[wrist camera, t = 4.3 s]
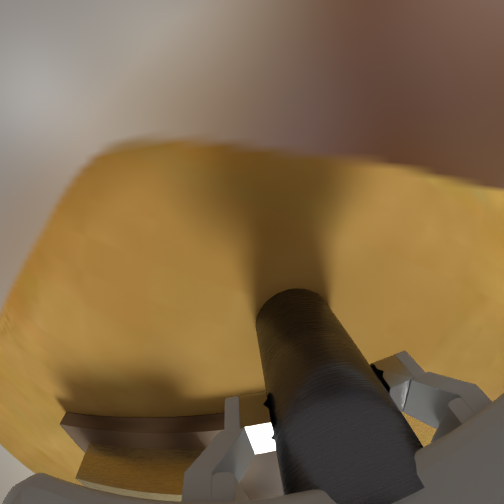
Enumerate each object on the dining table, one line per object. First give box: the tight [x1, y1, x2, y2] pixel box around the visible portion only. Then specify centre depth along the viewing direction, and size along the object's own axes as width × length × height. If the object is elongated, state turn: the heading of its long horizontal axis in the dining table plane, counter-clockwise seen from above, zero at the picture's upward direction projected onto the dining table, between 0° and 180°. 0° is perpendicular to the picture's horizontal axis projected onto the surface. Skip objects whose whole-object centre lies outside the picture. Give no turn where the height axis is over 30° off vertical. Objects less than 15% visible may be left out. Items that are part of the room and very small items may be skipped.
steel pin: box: [256, 289, 425, 504], centre depth 9 cm, size 4×4×11 cm
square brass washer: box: [76, 443, 206, 502], centre depth 14 cm, size 10×10×4 cm
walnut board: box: [60, 413, 284, 500], centre depth 17 cm, size 20×14×2 cm
